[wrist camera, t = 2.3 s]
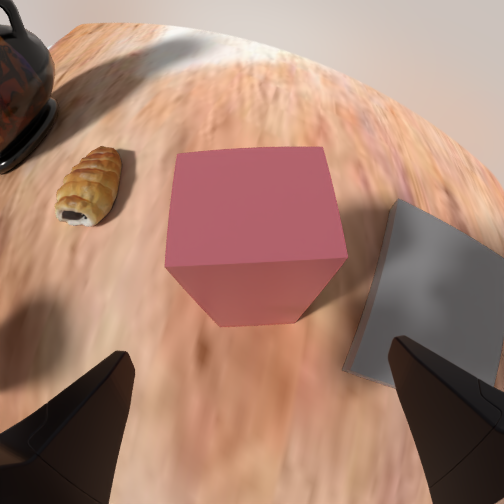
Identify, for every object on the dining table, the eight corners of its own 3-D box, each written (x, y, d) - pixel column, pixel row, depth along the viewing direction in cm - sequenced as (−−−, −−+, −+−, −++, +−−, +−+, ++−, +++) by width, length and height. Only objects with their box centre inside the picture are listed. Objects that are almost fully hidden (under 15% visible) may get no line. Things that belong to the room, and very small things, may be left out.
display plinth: (473, 409, 16) (486, 410, 14) (341, 370, 19) (350, 370, 17) (497, 268, 21) (508, 261, 19) (389, 209, 24) (398, 198, 22)
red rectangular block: (294, 323, 20) (348, 257, 8) (219, 327, 20) (164, 267, 8) (289, 265, 22) (322, 146, 10) (218, 269, 22) (177, 153, 10)
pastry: (90, 157, 28) (76, 136, 24) (137, 155, 27) (126, 130, 24) (59, 227, 24) (39, 209, 21) (108, 231, 24) (90, 211, 20)
